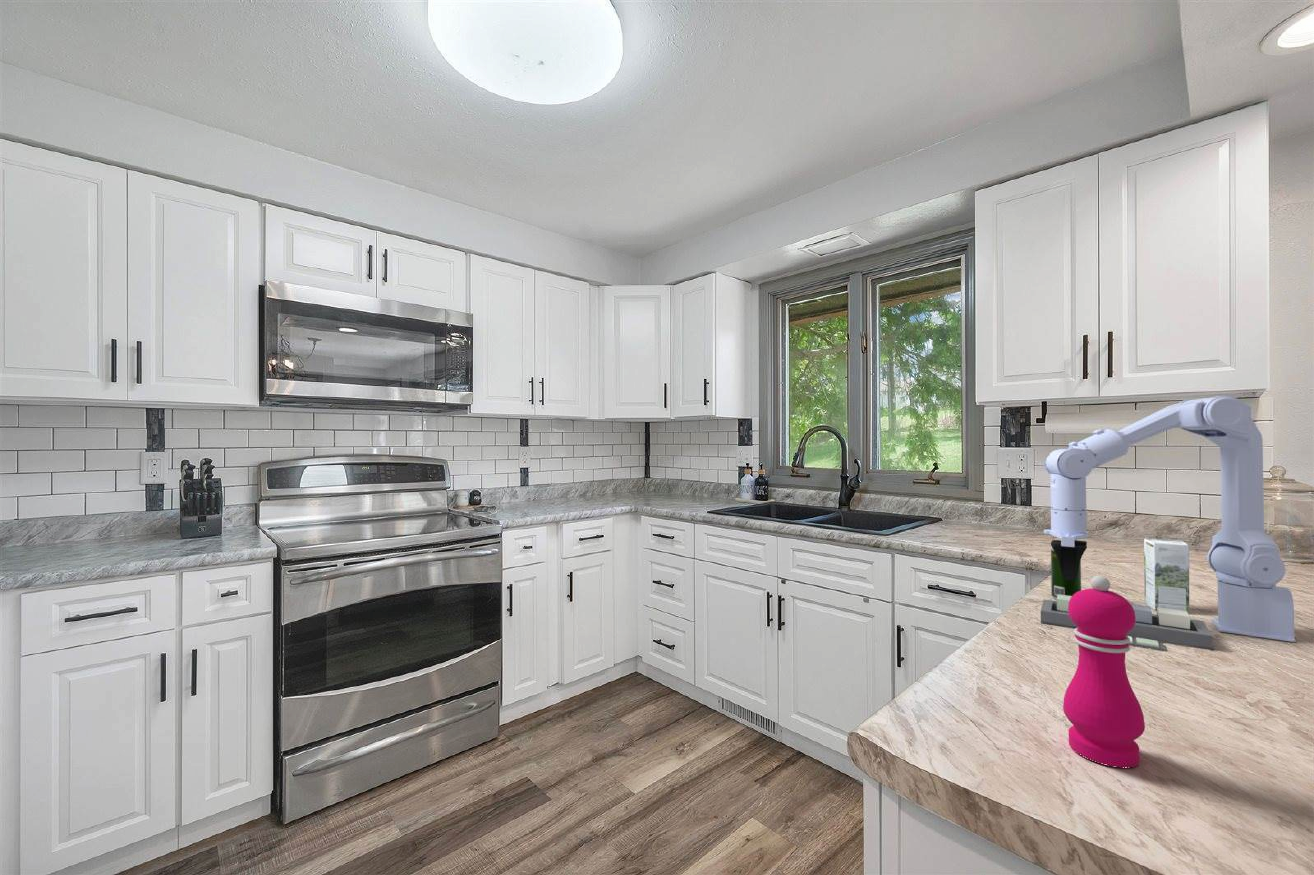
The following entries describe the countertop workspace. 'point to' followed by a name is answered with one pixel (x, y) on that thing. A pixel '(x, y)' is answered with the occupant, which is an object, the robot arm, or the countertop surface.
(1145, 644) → the strip
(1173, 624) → the key cream
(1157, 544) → the syrup box
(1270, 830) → the countertop surface
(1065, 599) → the key sage
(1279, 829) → the countertop surface
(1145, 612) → the key slate
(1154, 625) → the grey shallow tray
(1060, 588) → the beer can
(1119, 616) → the pepper mill
